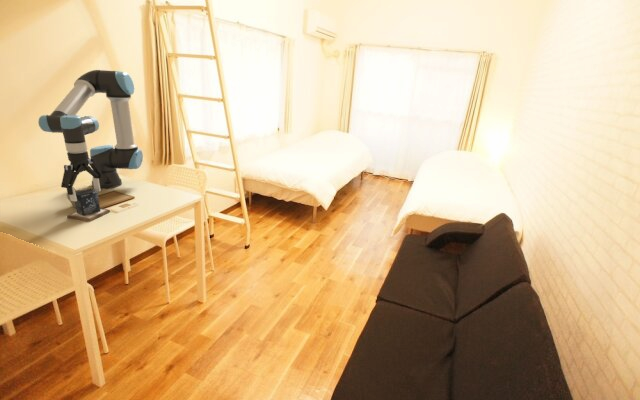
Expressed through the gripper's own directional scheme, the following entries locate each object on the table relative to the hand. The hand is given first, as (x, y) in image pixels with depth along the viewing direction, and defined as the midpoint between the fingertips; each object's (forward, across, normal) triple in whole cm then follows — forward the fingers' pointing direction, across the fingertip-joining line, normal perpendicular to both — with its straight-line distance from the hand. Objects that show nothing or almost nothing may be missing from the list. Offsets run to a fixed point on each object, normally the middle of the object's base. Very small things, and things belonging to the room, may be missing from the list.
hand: (86, 195), depth 156 cm
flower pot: (+10, -7, -12) cm, 17 cm away
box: (+8, 0, 0) cm, 9 cm away
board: (+10, +1, 0) cm, 10 cm away
